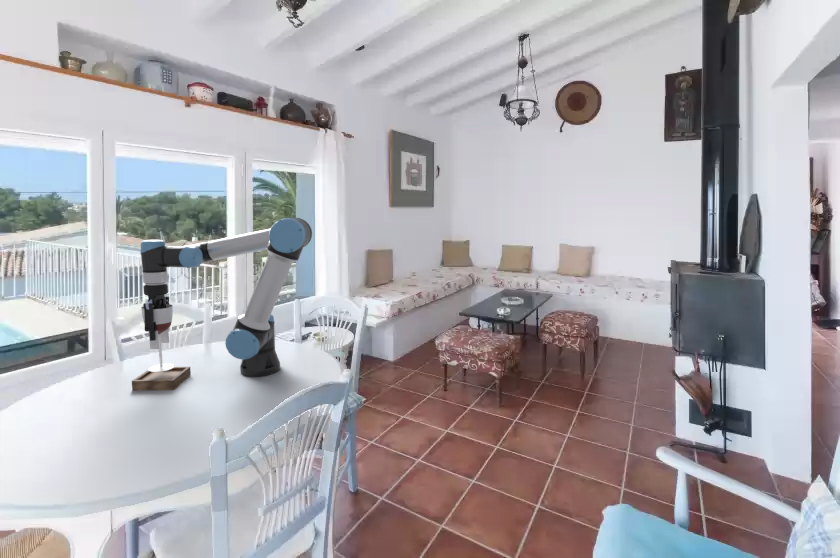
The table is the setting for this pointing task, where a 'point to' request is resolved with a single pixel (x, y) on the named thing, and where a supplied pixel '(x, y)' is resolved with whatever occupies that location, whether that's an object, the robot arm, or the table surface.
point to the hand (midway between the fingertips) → (159, 345)
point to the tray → (161, 379)
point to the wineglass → (163, 323)
